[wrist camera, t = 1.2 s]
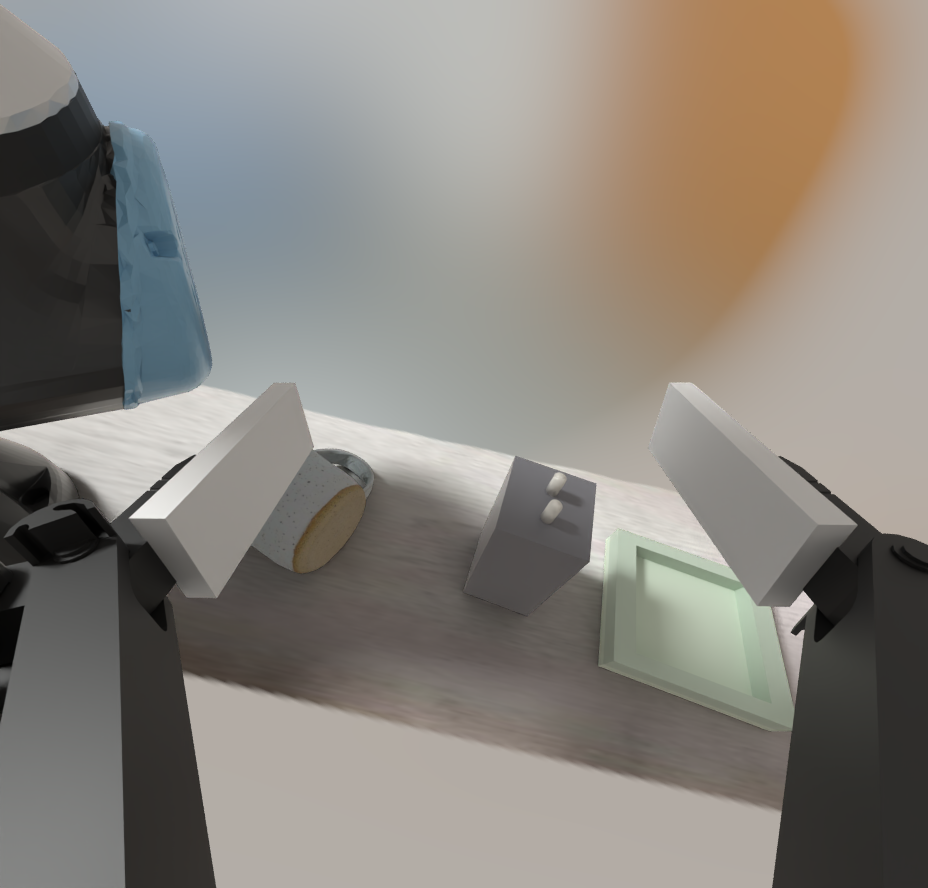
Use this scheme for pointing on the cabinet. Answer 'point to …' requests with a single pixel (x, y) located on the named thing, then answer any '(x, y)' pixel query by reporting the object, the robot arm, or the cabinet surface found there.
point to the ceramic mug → (316, 511)
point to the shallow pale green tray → (691, 632)
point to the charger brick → (532, 537)
